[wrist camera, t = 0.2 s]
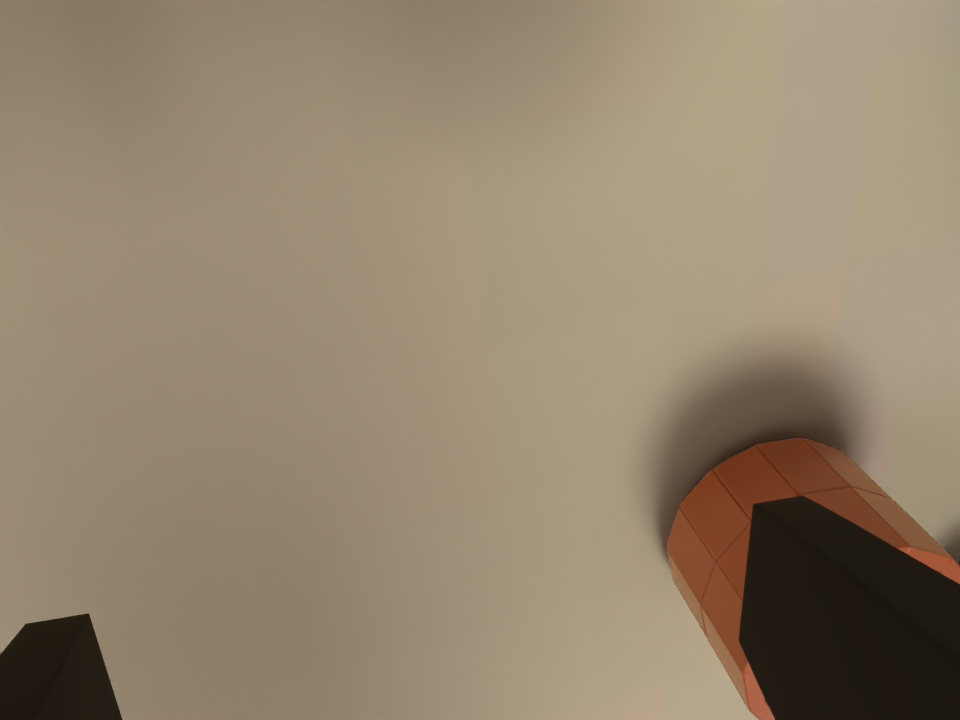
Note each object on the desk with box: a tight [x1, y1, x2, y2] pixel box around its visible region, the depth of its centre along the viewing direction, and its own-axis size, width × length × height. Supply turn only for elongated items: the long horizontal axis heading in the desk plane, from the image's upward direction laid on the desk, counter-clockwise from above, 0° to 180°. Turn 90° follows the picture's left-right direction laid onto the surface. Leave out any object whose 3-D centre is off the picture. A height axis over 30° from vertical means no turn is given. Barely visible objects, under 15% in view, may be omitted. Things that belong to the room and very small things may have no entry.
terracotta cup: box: [667, 437, 960, 720], centre depth 21 cm, size 5×5×5 cm
